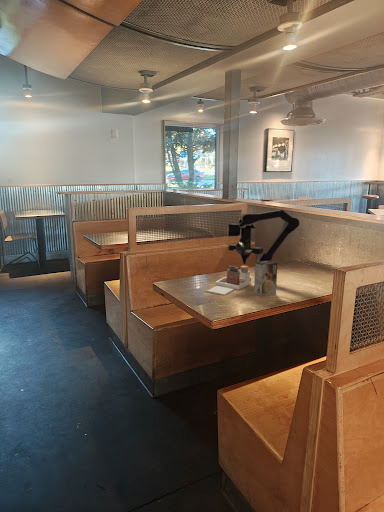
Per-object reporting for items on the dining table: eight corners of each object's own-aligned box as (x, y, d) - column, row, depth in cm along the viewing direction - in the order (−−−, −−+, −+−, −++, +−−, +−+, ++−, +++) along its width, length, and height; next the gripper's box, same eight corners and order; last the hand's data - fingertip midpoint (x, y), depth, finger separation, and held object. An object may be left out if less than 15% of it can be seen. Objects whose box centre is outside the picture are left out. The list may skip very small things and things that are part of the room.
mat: (233, 290, 184) (233, 289, 184) (224, 295, 176) (224, 294, 175) (216, 286, 189) (216, 285, 189) (206, 291, 181) (206, 290, 181)
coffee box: (267, 290, 184) (269, 259, 181) (276, 294, 179) (278, 262, 175) (253, 293, 180) (254, 261, 176) (261, 296, 174) (263, 264, 171)
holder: (255, 279, 203) (256, 272, 202) (238, 289, 185) (239, 281, 184) (233, 275, 210) (234, 268, 209) (215, 285, 192) (215, 277, 191)
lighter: (240, 285, 192) (241, 267, 190) (237, 286, 190) (237, 268, 188) (228, 282, 198) (229, 264, 196) (224, 283, 195) (225, 265, 193)
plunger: (249, 273, 203) (249, 266, 202) (246, 275, 200) (246, 268, 199) (242, 272, 205) (242, 265, 205) (238, 274, 202) (239, 266, 201)
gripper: (223, 236, 196) (223, 264, 200) (256, 240, 186) (254, 269, 190) (233, 234, 205) (232, 260, 209) (264, 237, 195) (262, 265, 199)
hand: (244, 264), depth 201 cm, fingers closed
